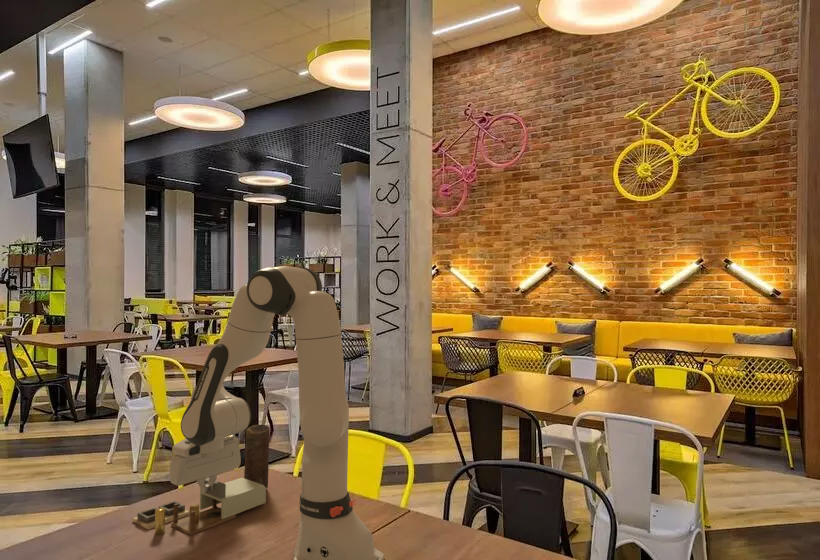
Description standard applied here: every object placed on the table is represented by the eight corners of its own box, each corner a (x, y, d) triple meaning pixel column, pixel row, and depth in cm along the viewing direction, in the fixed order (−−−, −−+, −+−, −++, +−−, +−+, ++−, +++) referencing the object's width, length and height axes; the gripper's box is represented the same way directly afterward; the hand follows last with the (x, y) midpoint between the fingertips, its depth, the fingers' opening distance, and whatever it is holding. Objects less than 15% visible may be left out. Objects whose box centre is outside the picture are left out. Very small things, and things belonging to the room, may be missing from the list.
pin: (166, 532, 149) (167, 509, 149) (158, 535, 147) (158, 512, 147) (161, 529, 150) (162, 507, 150) (153, 532, 148) (153, 509, 148)
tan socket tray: (189, 514, 160) (189, 505, 160) (148, 529, 150) (148, 520, 150) (173, 507, 165) (173, 499, 165) (132, 521, 155) (132, 512, 155)
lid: (265, 502, 166) (266, 472, 166) (222, 519, 154) (222, 487, 154) (242, 494, 172) (243, 465, 172) (199, 509, 160) (200, 478, 160)
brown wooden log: (273, 488, 181) (273, 425, 180) (260, 496, 174) (261, 431, 174) (252, 485, 183) (253, 423, 183) (238, 493, 176) (239, 429, 176)
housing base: (235, 517, 158) (236, 497, 158) (190, 535, 147) (190, 513, 147) (216, 509, 164) (216, 489, 164) (171, 525, 153) (171, 504, 153)
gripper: (232, 431, 166) (231, 479, 166) (166, 448, 150) (165, 500, 150) (245, 435, 162) (245, 484, 162) (179, 452, 146) (179, 506, 146)
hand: (206, 492), depth 156 cm, fingers closed
